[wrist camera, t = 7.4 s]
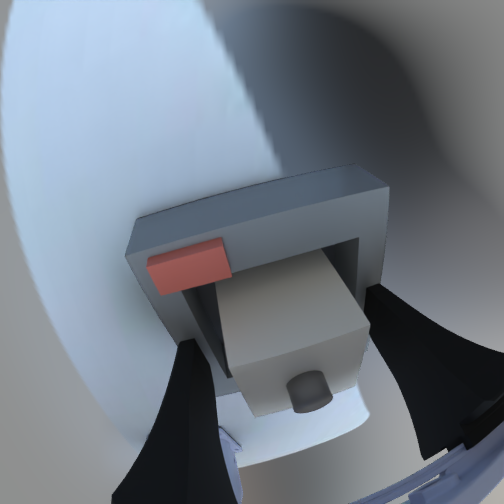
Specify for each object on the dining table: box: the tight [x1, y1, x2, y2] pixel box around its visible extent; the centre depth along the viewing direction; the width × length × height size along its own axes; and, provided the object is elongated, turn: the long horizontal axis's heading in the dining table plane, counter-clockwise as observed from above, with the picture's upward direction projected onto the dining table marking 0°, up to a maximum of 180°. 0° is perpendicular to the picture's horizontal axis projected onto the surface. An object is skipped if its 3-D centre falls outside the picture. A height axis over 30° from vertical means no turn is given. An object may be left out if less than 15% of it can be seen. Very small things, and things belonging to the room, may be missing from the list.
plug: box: [215, 248, 370, 417], centre depth 11 cm, size 4×4×6 cm
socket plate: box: [125, 164, 390, 397], centre depth 12 cm, size 10×9×3 cm
